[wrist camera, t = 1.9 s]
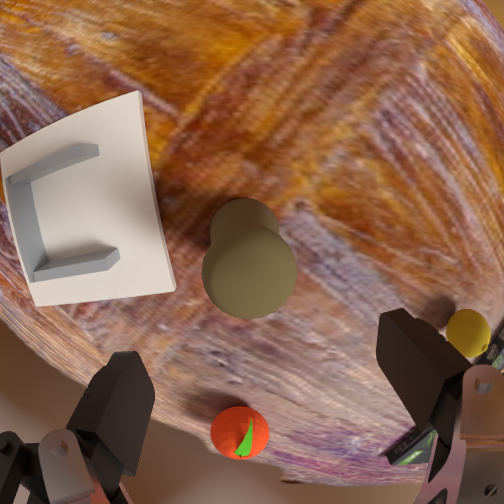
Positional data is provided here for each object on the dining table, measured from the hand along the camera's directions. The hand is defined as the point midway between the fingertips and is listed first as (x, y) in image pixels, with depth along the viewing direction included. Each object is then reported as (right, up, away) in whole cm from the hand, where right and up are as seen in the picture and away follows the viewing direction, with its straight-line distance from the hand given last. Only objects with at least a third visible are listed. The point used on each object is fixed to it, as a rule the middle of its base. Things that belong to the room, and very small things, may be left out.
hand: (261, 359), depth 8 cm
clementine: (-2, -16, +23) cm, 28 cm away
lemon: (+26, -5, +21) cm, 34 cm away
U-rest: (-17, +7, +14) cm, 24 cm away
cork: (-1, +5, +16) cm, 17 cm away
